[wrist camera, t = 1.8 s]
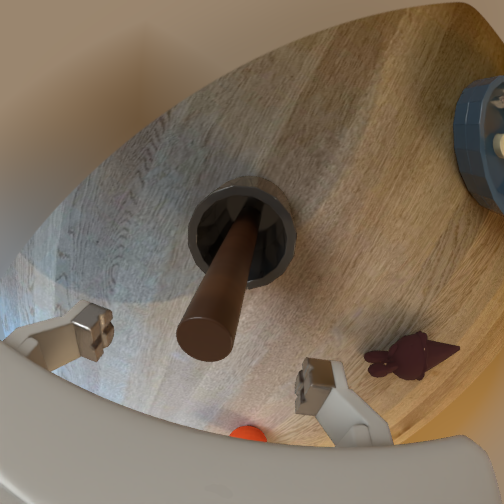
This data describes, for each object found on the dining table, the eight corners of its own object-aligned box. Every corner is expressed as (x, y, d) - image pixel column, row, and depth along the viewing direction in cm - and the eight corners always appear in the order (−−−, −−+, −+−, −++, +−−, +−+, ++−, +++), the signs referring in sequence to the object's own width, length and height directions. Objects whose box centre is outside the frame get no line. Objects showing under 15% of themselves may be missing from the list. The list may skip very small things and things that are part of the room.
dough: (489, 140, 23) (497, 141, 21) (500, 129, 22) (508, 129, 20) (498, 162, 23) (506, 163, 22) (509, 150, 22) (516, 151, 21)
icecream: (474, 333, 26) (372, 350, 29) (464, 381, 27) (367, 399, 30) (453, 316, 33) (362, 328, 36) (446, 359, 34) (360, 373, 37)
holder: (193, 212, 30) (167, 233, 23) (254, 158, 28) (246, 162, 20) (246, 269, 32) (236, 306, 25) (307, 222, 30) (317, 248, 22)
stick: (233, 216, 30) (164, 334, 11) (250, 202, 29) (202, 306, 10) (248, 233, 30) (204, 370, 11) (265, 219, 29) (245, 347, 11)
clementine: (241, 441, 46) (237, 470, 39) (218, 425, 44) (211, 456, 38) (275, 431, 44) (274, 462, 37) (252, 414, 42) (249, 448, 36)
